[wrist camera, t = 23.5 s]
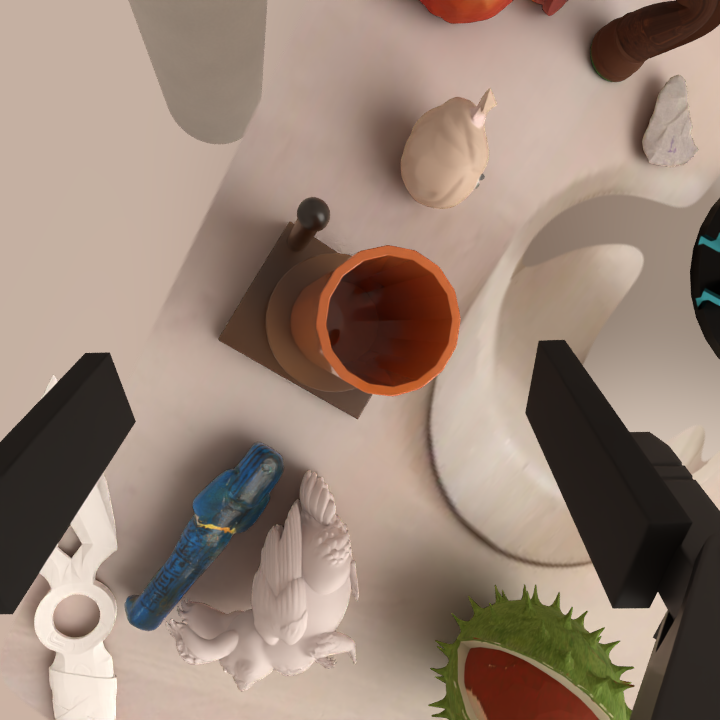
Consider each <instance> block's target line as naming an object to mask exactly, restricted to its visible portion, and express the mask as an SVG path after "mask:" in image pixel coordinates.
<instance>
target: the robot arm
mask: <svg viewBox="0 0 720 720" xmlns="http://www.w3.org/2000/svg"><path fill="white" fill-rule="evenodd" d="M525 413H526V415H527V417H528V420H529V422H530V424H531V426H532V429H533V431H534V433H535V435H536V438H537V440H538V442H539V444H540V447H541V449H542V451H543V453H544V456H545V458H546V460H547V462H548V464H549V467H550V469H551V471H552V473H553V476H554V478H555V480H556V482H557V485H558V487H559V489H560V491H561V494H562V496H563V498H564V500H565V502H566V505H567V507H568V509H569V511H570V514H571V516H572V518H573V520H574V523H575V525H576V527H577V529H578V532H579V534H580V536H581V538H582V541H583V543H584V545H585V547H586V549H587V552H588V554H589V556H590V558H591V561H592V563H593V565H594V567H595V570H596V572H597V574H598V576H599V579H600V581H601V583H602V585H603V587H604V590H605V592H606V594H607V596H608V599H609V601H610V603H611V605H612V608H650V606H651V604H652V602H653V600H654V598H655V596H656V594H657V592H659V594H660V596H661V598H662V600H663V602H664V603H665V605H666V607H667V609H668V611H667V612H666V614H665V616H664V618H663V620H662V622H661V623H660V625H659V627H658V629H657V631H656V633H655V634H654V636H653V638H655V639H656V642H655V645H654V648H653V651H652V654H651V657H650V660H649V663H648V666H647V669H646V672H645V675H644V678H643V681H642V684H641V687H640V690H639V692H638V695H637V698H636V701H635V704H634V707H633V710H632V713H631V716H630V719H629V720H720V511H719V510H718V508H717V507H716V506H715V504H714V503H713V502H712V501H711V499H710V498H709V497H708V495H707V494H706V493H705V492H704V490H703V489H702V488H701V486H700V485H699V484H698V483H697V481H696V480H693V478H692V475H691V474H690V472H689V471H688V470H687V468H686V467H685V466H682V462H681V461H680V459H679V458H678V457H677V456H676V454H675V453H674V452H673V451H672V449H671V448H670V447H669V446H668V445H667V444H665V443H664V442H663V441H661V440H660V439H659V438H657V437H656V436H654V435H653V434H651V433H650V432H629V431H628V430H627V428H626V427H625V425H624V424H623V422H622V421H621V419H620V418H619V417H618V415H617V414H616V412H615V411H614V410H613V408H612V407H611V405H610V404H609V402H608V401H607V400H606V398H605V397H604V395H603V394H602V392H601V391H600V390H599V388H598V387H597V385H596V384H595V383H594V381H593V380H592V378H591V377H590V376H589V374H588V373H587V371H586V370H585V368H584V367H583V365H582V364H581V363H580V361H579V360H578V358H577V357H576V355H575V354H574V353H573V351H572V350H571V348H570V347H569V345H568V344H567V343H566V341H565V340H547V341H539V343H538V348H537V353H536V359H535V364H534V369H533V375H532V380H531V385H530V391H529V396H528V402H527V407H526V412H525ZM135 422H136V421H135V418H134V416H133V413H132V411H131V408H130V405H129V403H128V400H127V397H126V395H125V392H124V389H123V387H122V384H121V381H120V379H119V376H118V373H117V371H116V368H115V365H114V363H113V360H112V358H111V355H110V353H85V354H84V355H83V356H82V357H81V359H79V360H78V361H77V362H76V363H75V365H74V366H73V367H72V368H71V369H70V370H69V371H68V372H67V373H66V374H65V375H64V376H63V377H62V378H61V379H60V380H59V381H58V382H57V383H56V384H55V385H54V386H53V387H52V389H51V390H50V391H49V392H48V393H47V394H46V395H45V396H44V397H43V398H42V399H41V400H40V401H39V402H38V403H37V404H36V405H35V406H34V407H33V408H32V409H31V410H30V412H29V413H28V414H27V415H26V416H25V417H24V418H23V419H22V420H21V421H20V422H19V423H18V424H17V425H16V426H15V427H14V428H13V429H12V430H11V432H9V433H8V434H7V436H6V437H5V438H4V439H3V440H2V441H1V442H0V614H13V613H14V611H15V610H16V608H17V607H18V605H19V604H20V602H21V600H22V599H23V597H24V596H25V594H26V593H27V591H28V590H29V588H30V586H31V585H32V583H33V582H34V580H35V579H36V577H37V575H38V574H39V572H40V571H41V569H42V568H43V566H44V564H45V563H46V561H47V560H48V558H49V557H50V555H51V553H52V552H53V550H54V549H55V547H56V546H57V544H58V543H59V541H60V539H61V538H62V536H63V535H64V533H65V532H66V530H67V528H68V527H69V525H70V524H71V522H72V521H73V519H74V517H75V516H76V514H77V513H78V511H79V510H80V508H81V506H82V505H83V503H84V502H85V500H86V499H87V497H88V496H89V494H90V492H91V491H92V489H93V488H94V486H95V485H96V483H97V481H98V480H99V478H100V477H101V475H102V474H103V472H104V470H105V469H106V467H107V466H108V464H109V463H110V461H111V459H112V458H113V456H114V455H115V453H116V452H117V450H118V448H119V447H120V445H121V444H122V442H123V441H124V439H125V438H126V436H127V434H128V433H129V431H130V430H131V428H132V427H133V425H134V423H135Z"/></svg>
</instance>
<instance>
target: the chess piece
mask: <svg viewBox="0 0 720 720" xmlns="http://www.w3.org/2000/svg"><path fill="white" fill-rule="evenodd" d="M719 24H720V0H676V1H668V2H662V3H657V4H652V5H649V6H646V7H643V8H641V9H638V10H636V11H634V12H630V13H627V14H626V15H624V16H623V17H620V18H617V19H615V20H613V21H611V22H610V23H608V24H607V25H605V26H604V27H603V28H601V29H600V30H599V31H598V32H597V33H596V35H595V37H594V39H593V41H592V44H591V51H590V54H591V61H592V64H593V66H594V68H595V70H596V72H597V73H598V74H599V75H600V76H601V77H602V78H604V79H605V80H607V81H611V82H619V81H622V80H625V79H626V78H628V77H629V76H631V75H632V74H633V73H634V72H636V71H637V70H638V69H639V68H640V67H641V66H642V64H643V63H644V61H646V60H647V59H648V58H652V57H654V56H657V55H659V54H662V53H664V52H667V51H669V50H672V49H674V48H677V47H679V46H682V45H684V44H687V43H689V42H692V41H694V40H696V39H698V38H700V37H702V36H704V35H706V34H707V33H709V32H711V31H712V30H713V29H715V28H716V27H717V26H718V25H719Z"/></svg>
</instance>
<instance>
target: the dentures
mask: <svg viewBox="0 0 720 720" xmlns="http://www.w3.org/2000/svg"><path fill="white" fill-rule="evenodd" d="M532 1H533V2H535V3H538V4H542V5H543V6H542V8H543V9H542V10H543V11H544V12H545V13H546V14H547V15H548V16H551V15H553V14H554V13H555V12H557V11H558V10H559V9H560V8H561V7H562V6H563V5H564V4H565V3H566V2H567V1H568V0H532Z"/></svg>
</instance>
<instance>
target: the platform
mask: <svg viewBox="0 0 720 720" xmlns="http://www.w3.org/2000/svg"><path fill="white" fill-rule="evenodd" d="M690 281H691V297H692V301H693V306H694V310H695V314H696V318H697V320H698V323H699V325H700V327H701V330H702V332H703V334H704V337H705V339H706V341H707V342H708V344H709V345H710V347H711V348H712V350H713V351H714V353H715V354H716V356H717V357H718V358H719V359H720V198H719V200H718V201H717V202H716V203H715V204H714V205H713V207H712V208H711V209H710V211H709V213H708V215H707V216H706V218H705V220H704V222H703V224H702V225H701V227H700V230H699V233H698V236H697V239H696V242H695V245H694V248H693V255H692V262H691V269H690Z"/></svg>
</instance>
